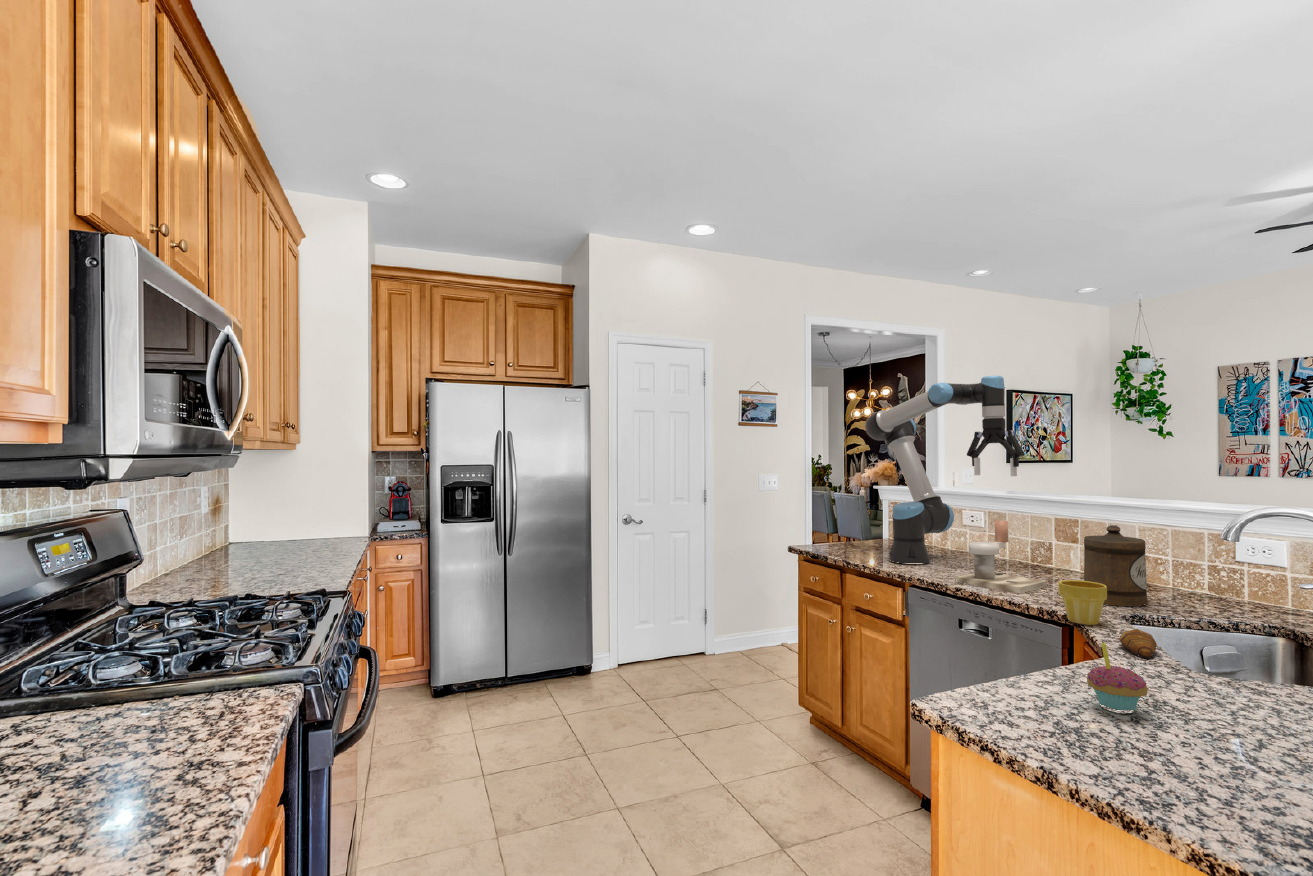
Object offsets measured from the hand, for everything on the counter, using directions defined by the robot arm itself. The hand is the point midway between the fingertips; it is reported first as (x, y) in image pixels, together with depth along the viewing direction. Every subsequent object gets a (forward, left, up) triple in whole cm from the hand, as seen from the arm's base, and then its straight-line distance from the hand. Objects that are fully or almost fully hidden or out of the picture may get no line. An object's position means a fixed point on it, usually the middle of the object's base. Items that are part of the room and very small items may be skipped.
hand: (995, 475), depth 234 cm
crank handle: (+10, -21, -24) cm, 34 cm away
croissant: (+68, -65, -35) cm, 100 cm away
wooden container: (+45, -19, -35) cm, 60 cm away
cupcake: (+79, -105, -35) cm, 136 cm away
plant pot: (+50, -50, -35) cm, 79 cm away
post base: (+14, -23, -35) cm, 44 cm away
